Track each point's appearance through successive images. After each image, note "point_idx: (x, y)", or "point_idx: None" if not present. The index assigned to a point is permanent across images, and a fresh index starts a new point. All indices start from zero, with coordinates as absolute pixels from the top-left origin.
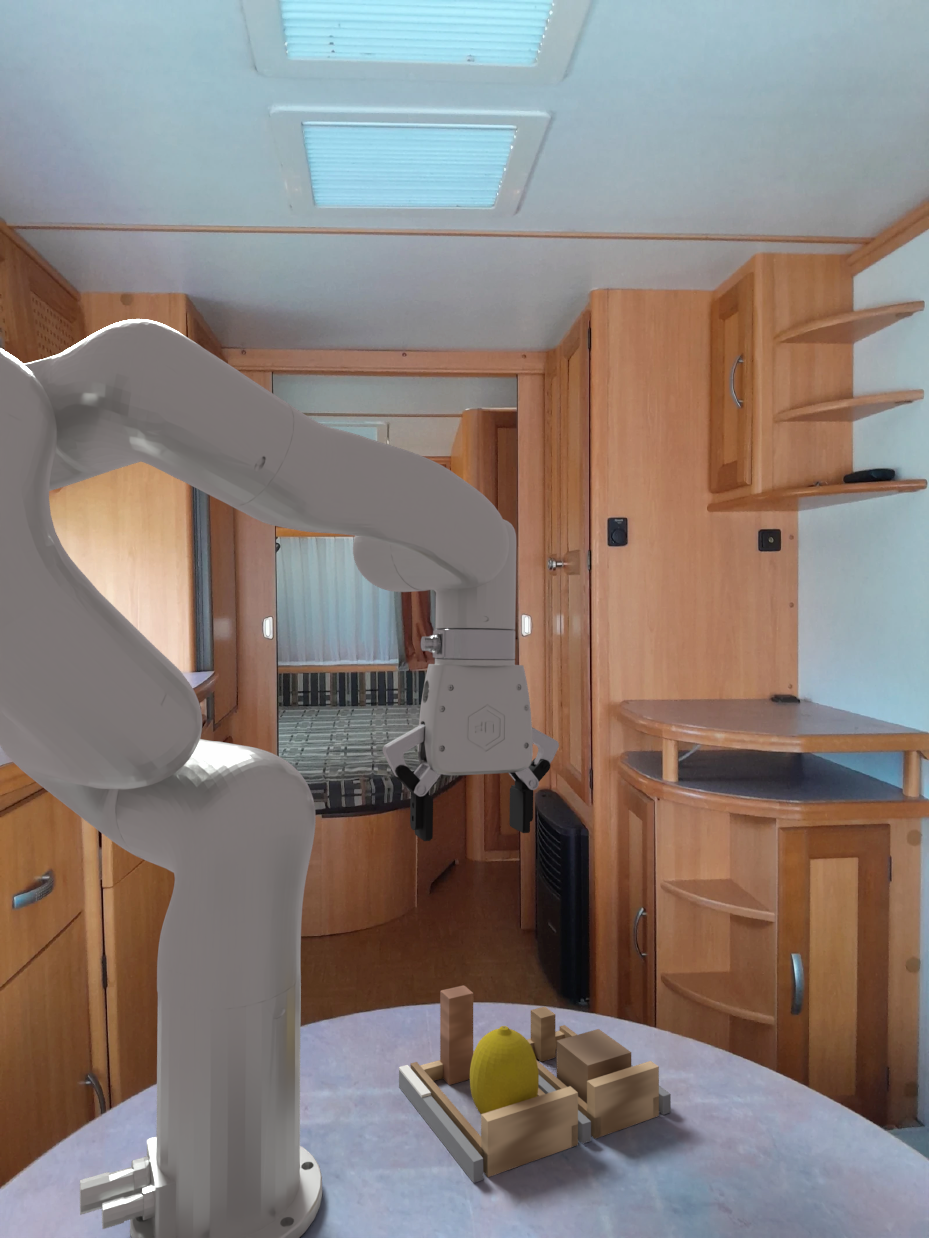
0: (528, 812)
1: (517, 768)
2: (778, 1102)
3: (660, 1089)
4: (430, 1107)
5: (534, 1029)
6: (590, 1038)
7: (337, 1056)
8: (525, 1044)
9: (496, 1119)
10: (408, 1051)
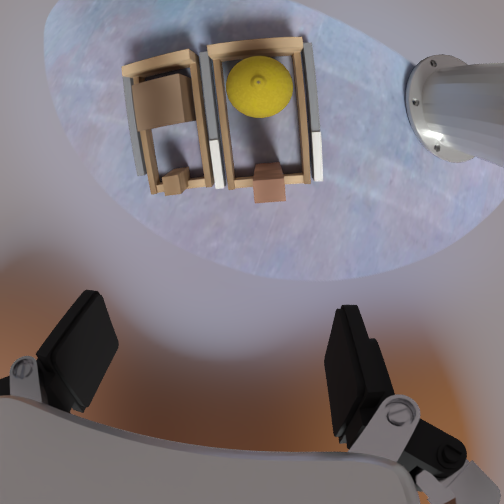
0: (67, 316)
1: (22, 403)
2: (62, 74)
3: (125, 79)
4: (318, 115)
5: (184, 182)
6: (152, 116)
7: (347, 240)
8: (240, 69)
9: (293, 37)
10: (292, 224)
